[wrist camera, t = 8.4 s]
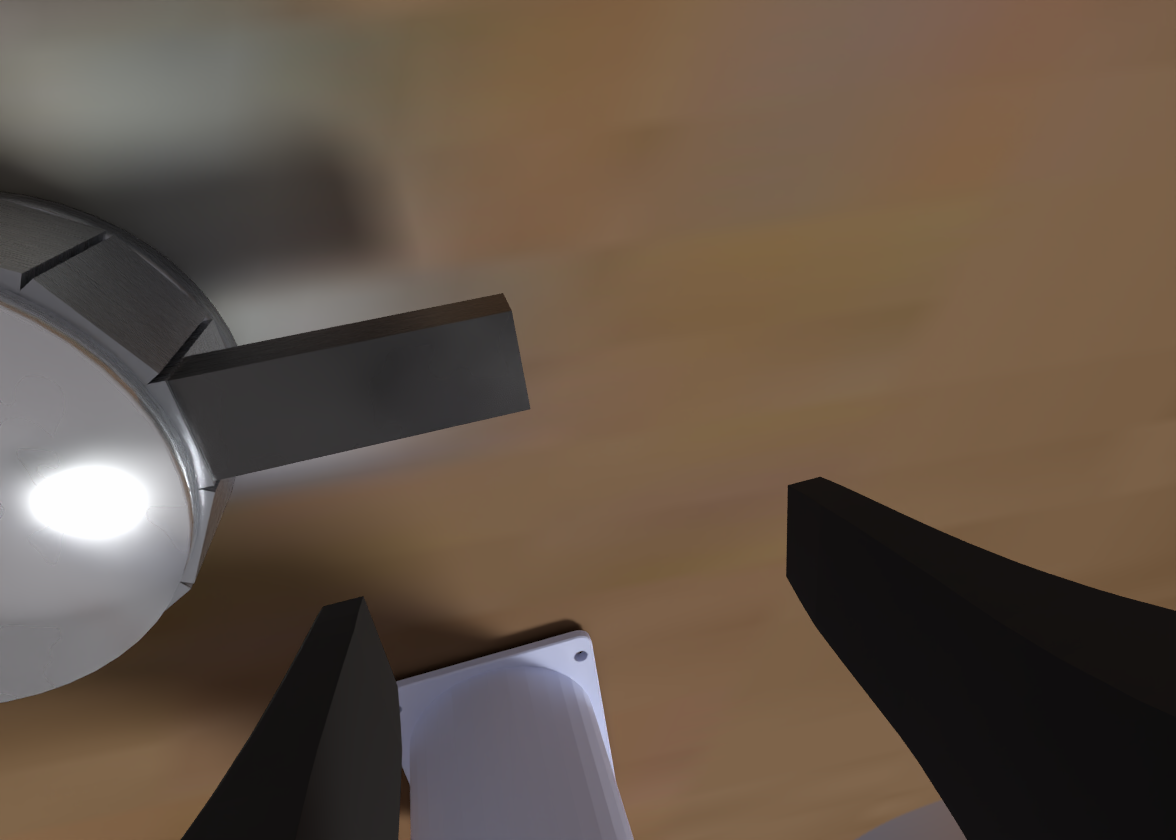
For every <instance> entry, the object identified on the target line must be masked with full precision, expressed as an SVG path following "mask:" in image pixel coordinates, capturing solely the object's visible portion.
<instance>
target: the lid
mask: <svg viewBox="0 0 1176 840" xmlns="http://www.w3.org/2000/svg"><path fill="white" fill-rule="evenodd" d="M198 514H199V507H198V496H197V486H196V482H195V478H194V474H193V470H192V467H191V463H190V459H189V457H188V455H187V452H186V450H185V448H184V446H183V443H182V441H181V439H180V437H179V434H178V432H177V431H176V429H175V428H174V426H173V424H172V423H171V421H170V420H169V418H168V416H167V415H166V413H165V412H164V410H163V408H162V407H161V406H160V404H159V403H158V402H157V401H156V399H155V398H154V397H153V396H152V395H151V393H150V392H149V391H148V390H147V388H146V387H145V386H144V385H143V384H142V382H141V381H140V380H139V379H138V378H137V377H136V376H135V375H134V374H133V373H132V372H130V371H129V370H128V369H127V368H126V367H125V366H124V365H123V364H122V363H121V362H120V361H119V360H118V359H117V358H116V357H115V356H114V355H112V354H111V353H110V352H109V351H107V350H106V349H105V348H103V347H102V346H101V345H99V344H98V343H97V342H96V341H94V340H93V339H92V338H90V337H89V336H88V335H87V334H85V333H84V332H82V331H81V330H79V329H78V328H76V327H74V326H73V325H71V324H70V323H68V322H66V321H65V320H63V319H62V318H60V317H58V316H57V315H55V314H54V313H52V312H50V311H49V310H47V309H45V308H43V307H41V306H39V305H37V304H35V303H33V302H31V301H29V300H26V299H24V298H22V297H20V296H18V295H16V294H14V293H12V292H10V291H8V290H5V289H3V288H0V703H2V702H8V701H12V700H16V699H20V698H24V697H28V696H32V695H36V694H40V693H43V692H46V691H49V690H52V689H55V688H57V687H60V686H63V685H66V684H69V683H71V682H73V681H75V680H77V679H80V678H82V677H84V676H86V675H88V674H90V673H92V672H95V671H96V670H98V669H100V668H101V667H103V666H105V665H106V664H108V663H109V662H111V661H113V660H114V659H116V658H118V657H119V656H120V655H122V654H123V653H124V652H125V651H127V650H128V649H129V648H130V647H132V646H133V645H134V644H135V643H137V642H138V641H139V640H140V639H141V638H142V637H143V636H144V635H145V634H146V633H147V632H148V631H149V630H150V628H151V627H152V626H153V625H154V624H155V623H156V622H157V621H158V619H159V618H160V616H161V615H162V614H163V612H164V611H165V609H166V608H167V606H168V605H169V603H170V602H171V600H172V598H173V596H174V593H175V591H176V589H177V587H178V585H179V583H180V580H181V578H182V576H183V574H184V571H185V569H186V567H187V564H188V562H189V560H190V558H191V555H192V551H193V547H194V543H195V539H196V535H197V527H198Z"/></svg>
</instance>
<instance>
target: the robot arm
mask: <svg viewBox="0 0 1176 840" xmlns="http://www.w3.org/2000/svg"><path fill="white" fill-rule="evenodd" d="M786 577H787V578H788V580H789V582H790V584H791V585H792V587H793V589H794V591H795V593H796V594H797V596H798V598H799V600H800V601H801V603H802V605H803V607H804V608H805V610H806V611H807V613H808V615H809V616H810V618H811V620H812V621H813V623H814V625H815V626H816V628H817V629H818V630H819V632H820V633H821V634H822V636H823V637H824V638H825V640H826V641H827V642H828V644H829V645H830V646H831V648H832V649H833V650H834V651H835V653H836V654H837V655H838V657H839V658H840V659H841V661H842V662H843V663H844V665H845V666H846V667H847V668H848V670H849V671H850V672H851V674H852V675H853V676H854V677H855V679H856V680H857V681H858V683H859V684H860V685H861V686H862V688H863V689H864V690H865V692H866V693H867V694H868V695H869V697H870V698H871V699H872V701H873V702H874V703H875V704H876V706H877V707H878V708H879V710H880V711H881V712H882V713H883V715H884V716H885V717H886V719H887V720H888V721H889V722H890V724H891V725H892V726H893V728H894V729H895V730H896V732H897V733H898V734H899V735H900V737H901V738H902V740H903V741H904V742H905V744H906V745H907V747H908V748H909V749H910V751H911V752H912V754H913V755H914V756H915V758H916V759H917V761H918V762H919V764H920V765H921V767H922V768H923V770H924V771H925V773H926V775H927V776H928V778H929V779H930V781H931V782H932V784H933V786H934V787H935V789H936V790H937V792H938V793H939V795H940V797H941V798H942V800H943V801H944V803H945V804H946V806H947V807H948V809H949V811H950V812H951V814H952V816H953V817H954V819H955V820H956V822H957V823H958V825H959V827H960V829H961V830H962V832H963V833H964V835H965V837H966V839H967V840H1176V611H1174V610H1171V609H1167V608H1163V607H1159V606H1156V605H1152V604H1148V603H1144V602H1140V601H1137V600H1133V599H1129V598H1125V597H1122V596H1118V595H1115V594H1112V593H1108V592H1105V591H1101V590H1098V589H1095V588H1091V587H1088V586H1085V585H1082V584H1079V583H1076V582H1073V581H1070V580H1067V579H1064V578H1061V577H1058V576H1055V575H1052V574H1049V573H1046V572H1043V571H1040V570H1037V569H1034V568H1031V567H1029V566H1026V565H1023V564H1020V563H1018V562H1015V561H1012V560H1010V559H1007V558H1005V557H1002V556H1000V555H997V554H995V553H992V552H990V551H987V550H984V549H982V548H979V547H977V546H974V545H972V544H969V543H967V542H965V541H962V540H960V539H958V538H955V537H953V536H951V535H948V534H946V533H944V532H941V531H939V530H937V529H935V528H932V527H930V526H928V525H926V524H923V523H921V522H919V521H917V520H915V519H912V518H910V517H908V516H906V515H904V514H901V513H899V512H897V511H895V510H893V509H891V508H889V507H886V506H884V505H882V504H880V503H878V502H876V501H874V500H871V499H869V498H867V497H865V496H863V495H861V494H859V493H856V492H854V491H852V490H850V489H848V488H846V487H843V486H841V485H839V484H836V483H834V482H832V481H829V480H827V479H824V478H822V477H818V478H814V479H810V480H806V481H802V482H799V483H795V484H791V485H788V510H787V567H786ZM580 651H583V652H582V653H580V654H576V653H578V652H580ZM402 767H403V770H404V772H405V775H406V777H407V780H408V782H409V785H410V819H411V840H634V838H633V835H632V832H631V829H630V825H629V822H628V819H627V816H626V813H625V809H624V806H623V803H622V800H621V796H620V793H619V790H618V787H617V783H616V779H615V773H614V768H613V762H612V756H611V751H610V745H609V739H608V733H607V728H606V722H605V716H604V710H603V705H602V699H601V693H600V687H599V682H598V676H597V670H596V664H595V659H594V653H593V647H592V642H591V639H590V636H589V634H588V633H587V632H586V631H583V630H576V631H572V632H569V633H565V634H562V635H558V636H555V637H551V638H547V639H544V640H540V641H537V642H533V643H530V644H526V645H523V646H519V647H516V648H512V649H509V650H505V651H502V652H498V653H495V654H491V655H487V656H484V657H480V658H477V659H473V660H470V661H466V662H463V663H459V664H456V665H452V666H449V667H445V668H442V669H438V670H434V671H431V672H427V673H424V674H420V675H417V676H413V677H410V678H406V679H403V680H399V681H396V680H395V678H394V675H393V673H392V670H391V667H390V665H389V662H388V660H387V657H386V654H385V652H384V649H383V646H382V644H381V641H380V639H379V636H378V633H377V631H376V628H375V625H374V623H373V620H372V618H371V615H370V612H369V610H368V607H367V604H366V602H365V599H364V597H363V596H362V597H358V598H354V599H350V600H347V601H343V602H339V603H335V604H331V605H327V606H324V607H323V608H322V609H321V611H320V612H319V614H318V615H317V617H316V619H315V621H314V623H313V625H312V627H311V629H310V631H309V632H308V634H307V636H306V638H305V640H304V642H303V644H302V646H301V648H300V649H299V651H298V653H297V655H296V657H295V659H294V661H293V662H292V664H291V666H290V668H289V670H288V671H287V673H286V675H285V677H284V679H283V681H282V682H281V684H280V686H279V688H278V689H277V691H276V693H275V695H274V696H273V698H272V700H271V701H270V703H269V705H268V707H267V708H266V710H265V712H264V713H263V715H262V717H261V719H260V720H259V722H258V724H257V726H256V727H255V729H254V731H253V732H252V734H251V735H250V737H249V739H248V740H247V742H246V743H245V745H244V747H243V748H242V750H241V751H240V753H239V754H238V756H237V757H236V759H235V761H234V762H233V764H232V765H231V767H230V768H229V770H228V771H227V773H226V775H225V776H224V778H223V779H222V781H221V782H220V784H219V785H218V787H217V789H216V790H215V792H214V793H213V794H212V796H211V797H210V799H209V800H208V802H207V803H206V805H205V806H204V808H203V809H202V810H201V812H200V813H199V815H198V816H197V818H196V819H195V820H194V822H193V823H192V825H191V826H190V827H189V829H188V830H187V832H186V833H185V834H184V836H183V837H182V839H181V840H398V833H399V813H400V792H401V769H402Z"/></svg>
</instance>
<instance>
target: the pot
mask: <svg viewBox="0 0 1176 840" xmlns="http://www.w3.org/2000/svg"><path fill="white" fill-rule="evenodd" d="M0 288H3V289H5V290H8V291H10V292H12V293H14V294H16V295H18V296H20V297H22V298H24V299H26V300H29V301H31V302H33V303H35V304H37V305H39V306H41V307H43V308H45V309H47V310H49V311H50V312H52V313H54V314H55V315H57V316H58V317H60V318H62V319H63V320H65V321H66V322H68V323H70V324H71V325H73V326H74V327H76V328H78V329H79V330H81V331H82V332H84V333H85V334H87V335H88V336H89V337H90V338H92V339H93V340H94V341H96V342H97V343H98V344H99V345H101V346H102V347H103V348H105V349H106V350H107V351H109V352H110V353H111V354H112V355H114V356H115V357H116V358H117V359H118V360H119V361H120V362H121V363H122V364H123V365H124V366H125V367H126V368H127V369H128V370H129V371H130V372H132V373H133V374H134V375H135V376H136V377H137V378H138V379H139V380H140V381H141V382H142V384H143V385H144V386H145V387H146V388H147V390H148V391H149V392H150V393H151V395H152V396H153V397H154V398H155V399H156V401H157V402H158V403H159V404H160V406H161V407H162V408H163V410H164V412H165V413H166V415H167V416H168V418H169V420H170V421H171V423H172V424H173V426H174V428H175V429H176V431H177V432H178V434H179V437H180V439H181V441H182V443H183V446H184V448H185V450H186V452H187V455H188V457H189V459H190V463H191V467H192V470H193V474H194V478H195V482H196V486H197V496H198V507H199V514H198V527H197V535H196V539H195V543H194V547H193V551H192V555H191V558H190V560H189V562H188V564H187V567H186V569H185V571H184V574H183V576H182V578H181V580H180V583H179V585H178V587H177V589H176V591H175V593H174V596H173V598H172V600H171V602H170V603H169V605H168V606H167V608H166V609H165V610H167V609H168V608H169V607H170V606H171V605H173V604H174V603H175V602H176V601H177V600H178V599H180V598H181V597H182V596H183V595H184V594H185V593H187V592H188V591H189V590H190V589H191V587H192V585H193V583H195V580H196V578H197V576H198V573H199V571H200V568H201V566H202V563H203V561H204V558H205V556H206V553H207V551H208V549H209V546H210V544H211V541H212V539H213V536H214V534H215V531H216V529H217V526H218V524H219V522H220V519H221V517H222V514H223V512H224V509H225V507H226V504H227V502H228V500H229V497H230V495H231V492H232V489H233V484H234V480H235V476H239V475H243V474H248V473H252V472H256V471H261V470H265V469H270V468H274V467H278V466H283V465H287V464H291V463H296V462H300V461H305V460H309V459H313V458H318V457H322V456H327V455H331V454H335V453H340V452H344V451H349V450H353V449H357V448H362V447H366V446H370V445H375V444H379V443H384V442H388V441H392V440H397V439H401V438H406V437H410V436H414V435H419V434H423V433H428V432H432V431H436V430H441V429H445V428H449V427H454V426H458V425H463V424H467V423H471V422H476V421H480V420H485V419H489V418H493V417H498V416H502V415H507V414H511V413H515V412H520V411H524V410H528V409H530V405H529V399H528V394H527V389H526V384H525V378H524V373H523V368H522V363H521V357H520V352H519V347H518V342H517V336H516V331H515V326H514V321H513V315H512V311H511V309H510V307H509V304H508V302H507V300H506V298H505V296H504V294H503V293H502V294H497V295H492V296H487V297H482V298H477V299H472V300H467V301H462V302H457V303H452V304H447V305H442V306H437V307H432V308H427V309H422V310H417V311H412V312H407V313H402V314H397V315H392V316H387V317H381V318H376V319H371V320H366V321H361V322H356V323H351V324H346V325H341V326H336V327H331V328H326V329H321V330H316V331H311V332H306V333H301V334H296V335H291V336H286V337H281V338H276V339H271V340H266V341H261V342H256V343H251V344H246V345H241V346H237V344H236V342H235V340H234V338H233V336H232V334H231V332H230V330H229V328H228V326H227V325H226V323H225V322H224V320H223V319H222V317H221V316H220V314H219V313H218V311H217V310H216V308H215V307H214V305H213V304H212V303H211V302H210V301H209V300H208V298H207V297H206V296H205V295H204V294H203V292H202V291H201V290H200V289H199V288H198V286H197V285H196V284H195V283H193V282H192V281H191V280H190V279H189V278H188V277H187V276H186V275H185V274H184V273H183V272H182V271H181V270H180V269H179V268H178V267H177V266H176V265H174V264H173V263H172V262H170V261H169V260H168V259H166V258H165V257H164V256H162V255H161V254H160V253H158V252H157V251H156V250H155V249H153V248H152V247H151V246H149V245H147V244H146V243H144V242H142V241H141V240H139V239H137V238H136V237H134V236H132V235H131V234H129V233H128V232H126V231H124V230H123V229H120V228H118V227H116V226H114V225H112V224H110V223H108V222H106V221H104V220H102V219H100V218H97V217H95V216H93V215H91V214H88V213H85V212H82V211H80V210H77V209H74V208H71V207H68V206H66V205H63V204H60V203H56V202H52V201H48V200H44V199H40V198H36V197H32V196H28V195H21V194H14V193H7V192H0Z"/></svg>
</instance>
